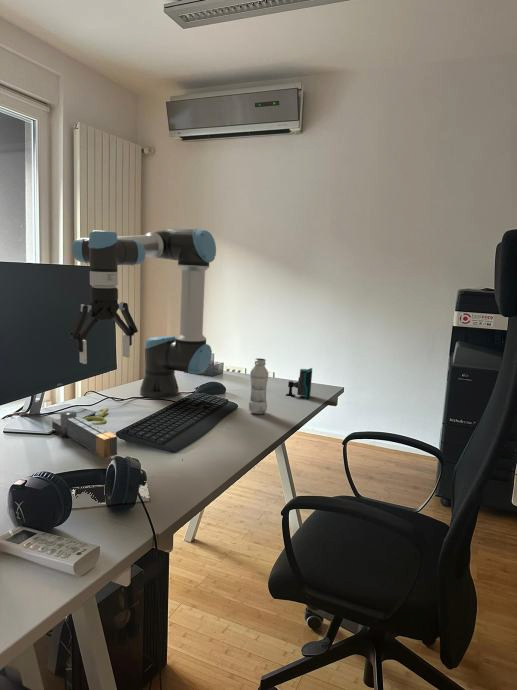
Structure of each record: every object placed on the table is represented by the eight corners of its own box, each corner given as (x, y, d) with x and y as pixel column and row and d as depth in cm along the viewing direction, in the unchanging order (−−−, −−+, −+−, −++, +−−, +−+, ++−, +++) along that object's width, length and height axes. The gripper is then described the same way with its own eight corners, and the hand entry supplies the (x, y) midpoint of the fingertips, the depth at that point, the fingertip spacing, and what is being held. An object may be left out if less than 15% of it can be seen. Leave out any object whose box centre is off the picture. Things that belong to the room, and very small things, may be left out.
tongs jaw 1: (67, 435, 138) (66, 418, 137) (73, 434, 139) (72, 417, 138) (103, 458, 124) (103, 439, 123) (110, 456, 125) (110, 437, 124)
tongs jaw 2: (73, 434, 139) (73, 417, 138) (79, 432, 141) (79, 415, 140) (110, 456, 125) (110, 437, 124) (116, 454, 126) (117, 436, 126)
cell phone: (149, 502, 106) (150, 498, 106) (63, 512, 101) (63, 507, 100) (146, 484, 115) (146, 481, 114) (66, 492, 109) (66, 488, 109)
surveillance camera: (288, 365, 199) (312, 367, 198) (286, 393, 201) (310, 395, 200) (287, 368, 193) (311, 370, 192) (285, 397, 195) (309, 399, 194)
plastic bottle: (264, 417, 169) (268, 362, 165) (246, 414, 170) (249, 360, 166) (268, 411, 175) (271, 358, 171) (250, 409, 176) (253, 356, 173)
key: (108, 413, 165) (108, 407, 164) (105, 425, 153) (105, 419, 153) (87, 413, 163) (86, 407, 163) (82, 426, 151) (81, 419, 151)
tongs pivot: (50, 430, 145) (49, 408, 144) (64, 427, 148) (64, 405, 147) (65, 439, 138) (64, 416, 137) (79, 436, 142) (79, 413, 140)
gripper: (67, 289, 123) (69, 368, 127) (149, 286, 141) (149, 356, 145) (54, 286, 128) (57, 363, 132) (135, 284, 146) (135, 352, 150)
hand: (105, 359), depth 138 cm, fingers open, 13 cm apart
